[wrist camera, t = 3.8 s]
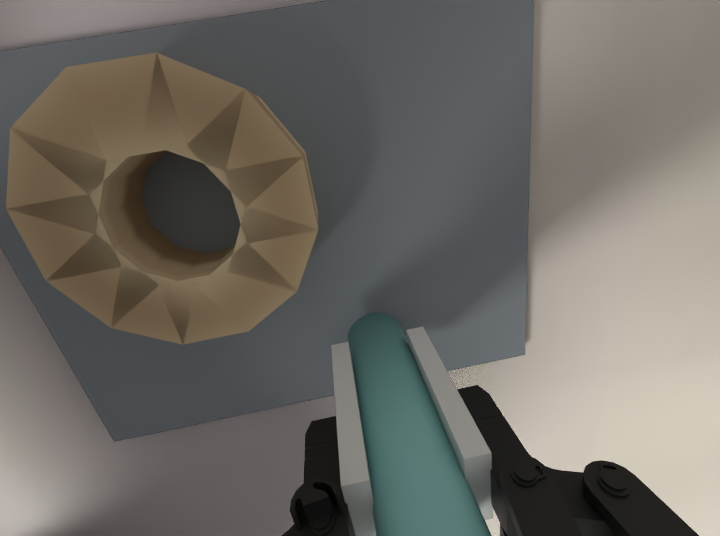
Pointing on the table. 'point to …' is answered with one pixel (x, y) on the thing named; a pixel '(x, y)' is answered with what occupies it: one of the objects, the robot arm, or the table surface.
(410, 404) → the teal and tan cylinder
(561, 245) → the table surface
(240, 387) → the mat
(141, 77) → the bead
